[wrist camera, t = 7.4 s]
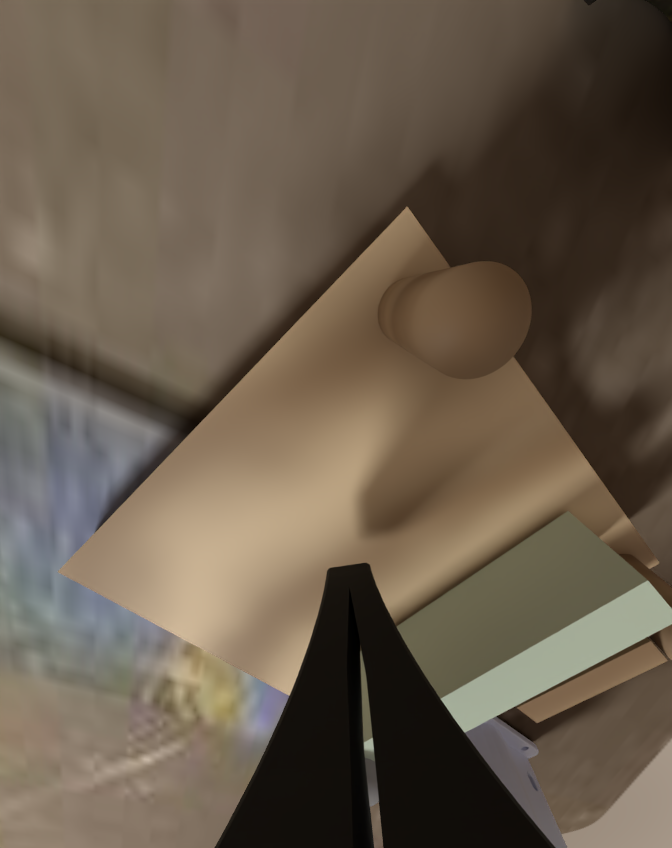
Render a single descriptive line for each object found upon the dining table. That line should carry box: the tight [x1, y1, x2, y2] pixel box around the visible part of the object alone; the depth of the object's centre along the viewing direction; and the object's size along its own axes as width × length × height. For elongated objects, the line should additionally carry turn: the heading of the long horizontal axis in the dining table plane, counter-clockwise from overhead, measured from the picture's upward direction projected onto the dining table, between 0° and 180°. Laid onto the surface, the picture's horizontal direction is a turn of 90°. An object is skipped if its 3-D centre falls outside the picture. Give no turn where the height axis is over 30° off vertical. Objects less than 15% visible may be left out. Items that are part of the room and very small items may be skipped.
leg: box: [360, 511, 672, 807], centre depth 12 cm, size 14×3×4 cm, turn 135°
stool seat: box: [58, 207, 672, 723], centre depth 11 cm, size 17×17×6 cm
